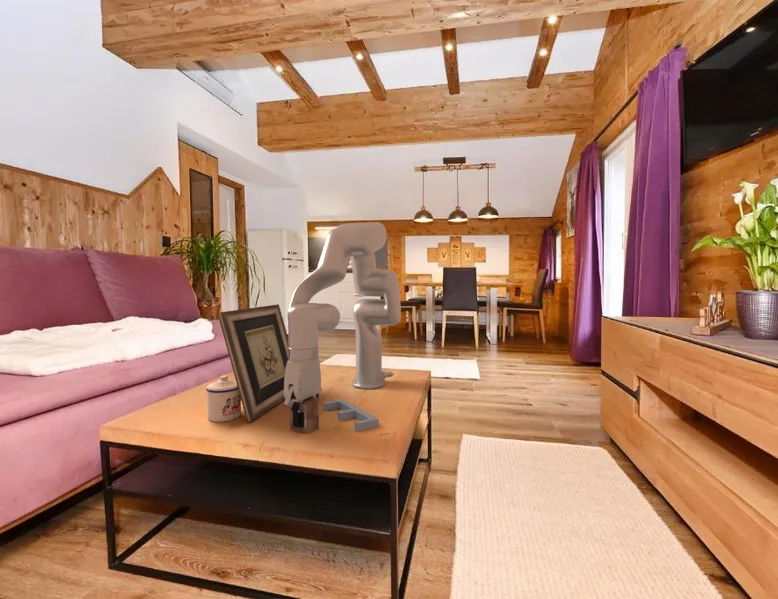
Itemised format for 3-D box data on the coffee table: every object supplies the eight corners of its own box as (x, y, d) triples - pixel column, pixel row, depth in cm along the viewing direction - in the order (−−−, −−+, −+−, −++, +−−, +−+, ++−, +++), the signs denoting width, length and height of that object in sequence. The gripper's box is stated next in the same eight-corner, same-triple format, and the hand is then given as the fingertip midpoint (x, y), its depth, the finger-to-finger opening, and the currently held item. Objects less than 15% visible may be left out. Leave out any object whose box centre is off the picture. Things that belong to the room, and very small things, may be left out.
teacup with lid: (225, 424, 104) (224, 381, 104) (199, 420, 107) (198, 378, 107) (255, 410, 116) (254, 371, 115) (230, 406, 119) (230, 369, 118)
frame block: (300, 424, 104) (300, 394, 104) (318, 428, 102) (318, 397, 101) (290, 429, 101) (289, 399, 100) (308, 433, 98) (308, 402, 98)
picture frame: (251, 423, 105) (249, 312, 104) (218, 420, 107) (216, 312, 106) (301, 389, 137) (300, 304, 136) (275, 387, 139) (274, 304, 138)
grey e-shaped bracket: (342, 405, 120) (342, 399, 120) (378, 426, 103) (378, 418, 103) (323, 409, 116) (323, 402, 116) (357, 431, 100) (357, 424, 99)
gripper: (311, 347, 109) (312, 411, 110) (269, 358, 94) (270, 432, 95) (334, 349, 106) (334, 415, 107) (293, 361, 91) (294, 438, 92)
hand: (304, 422), depth 101 cm, fingers closed on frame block, 4 cm apart
